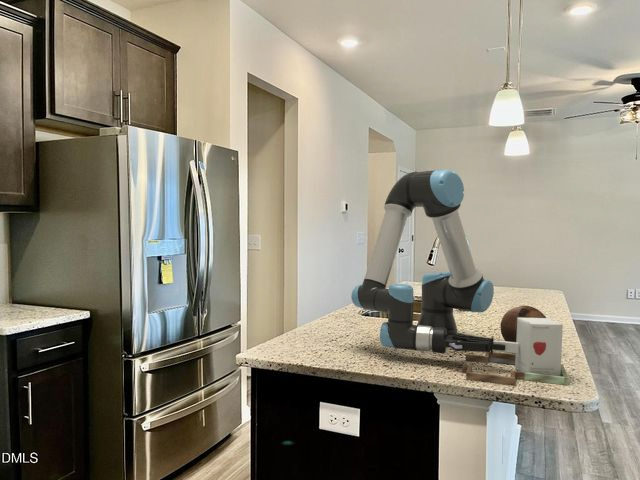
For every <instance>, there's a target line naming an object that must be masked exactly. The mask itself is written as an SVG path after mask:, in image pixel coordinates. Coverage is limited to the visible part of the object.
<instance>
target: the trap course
mask: <svg viewBox="0 0 640 480" xmlns="http://www.w3.org/2000/svg"><path fill="white" fill-rule="evenodd" d="M484 353H485V355H481V354H473V353H472V354H471V353H465V361H466V362H467V361H468V362H476V363H485V364H489V363H492V364H493V363H494V364H499V365H501V364H502V365H510V366H515V359H516V353H509V352H499V351H493V354H491V351H490V352H484ZM461 366H462V367H461V368H462V369H461V371H462V374H463V373H465V374H466V377H465V378H466V380H469V381H476V382H485V383H493V384H501V385H508V386H516V380H521V379H523V380H522V381H529V380H531V381H530V382H537V381H538V382H537V383H548V384H554V385H555V384H556V385H563V386H570V385H569V384H570V383H569V380H570V378H569V375H568V373H567V370H566V369H565V367H564V364H563V363H561V375H560V376H553V375H544V374H535V373H527V372H520V371H518V370H510V376H507V375H506V376H505V375H498V374H490V373H482V372H481V373H480V372H474V371H473V366H472V365H466V364H465V365H464V364H462V365H461Z"/></svg>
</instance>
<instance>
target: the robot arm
mask: <svg viewBox="0 0 640 480" xmlns="http://www.w3.org/2000/svg"><path fill="white" fill-rule="evenodd" d="M459 175H460V174H458V173H457V172H455V171H453V170H450V169H435V170H425V171H412V172H409V173H406V174H404V175H403V176H402V177H400V178H399V179H398V180H397V181H396V183H394V185H393V186H392V188H391V190H390V191H389V193H388V195H387V197H386V200H385V202H384V205H383V208H384V211H385V213H384V216H383V218H382V221H381V225H380V228H379V231H378V233H377V237H376V240H375V244H374V246H373V250H372V254H371V256H370V259H369V262H368V266H367V268H366V271H365V275H364V278H363V282H362V284H358V285H356V286H355V287H354V288H353V289H352V291H351V298H350V299H351V302H352V304H353V305H354V306H355V307H356V308H360V309H363V310H368V311H372V312H373V311H374V312H380V313H382V314H383V313H384V314H387V316H388V317H387V321H385V322H382V323H381V325H380V330H379V341H380V343H381V346H383V347H386V348H392V349H399V350H400V349H401V350H410V351H411V350H412V351H417V352H418V351H420V352H421V354H423V353H425V352H428V353H429V352H433V353H437V354H446V353H447V348H449V349H451V350H454V352H478V353H486V352H491V354H493V352H498V353H508V354H516V353H518V343H516V342H506V341H505V340H494V337H493V336H491V337H484V336H483V337H482V336H476V335H469V334H463V333H458V327H457V323H456V320H455V316H454V309H455V310H460V311H466V312H470V313H471V312H472V313H481V314H482V313H485V312H486V311H487V310H488V309H489V308H490V306H491V305H492V302H493V298H494V293H495V292H494V290H495V288H494V284H493V282H492V281H491V280H489V279H484V277H483V273H482V271H481V270H480V269H479V268H476V266H475V265H476V264H475V261H474V258H473V257H472V252H471V249H470V246H469V243H468V239H467V236H466V233H465V229H464V226H463V224H462V220H461V217H460V214H459V209H460V208H461V206H462V204H461V203H462V202H463V200H464V197H465V193H464V192H465V188H464V187H465V186H464V183H463V181H462V179H461V176H459ZM416 207H417V208H423V210H424V213H425V216H426V217H427V218H429V219H432V222H433V225H434V229H435V231H436V234H437V237H438V240H439V243H440V246H441V247H440V248H441V249H442V252H443V255H444V259H445V262H446V264H447V267H448V271H449V272H446V271H445V272H432V273H431V272H430V273H426V274H423V275H422V279H421V313H420V315H419V318H418V321H417V323H416V324H414V304H415V303H414V302H415V298H414V287H413V286H412V285H410V284H406V283H391V284H390V285H388V281H389V278H390V274H391V271H392V269H393V265H394V261H395V258H396V254H397V253H398V248H399V245H400V242H401V239H402V236H403V233H404V229H405V227H406V223H407V219H408V218H409V217H411V216H412V214H413V210H414V209H415V208H416ZM387 285H388V288H386V287H387Z"/></svg>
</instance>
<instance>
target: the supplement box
mask: <svg viewBox="0 0 640 480" xmlns="http://www.w3.org/2000/svg"><path fill="white" fill-rule="evenodd" d="M563 325H564V324H563V323H560V322H558V321H555V320H553V319H550V318H548V317H546V318H517V338H516V343H518V353H515V354H516V359H515V365H514V369H516V371H518V372H527V373H535V374H544V375H553V376H561V364H562V352H563V351H562V349H563V348H562V347H563V329H564V327H563Z"/></svg>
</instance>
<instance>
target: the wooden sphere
mask: <svg viewBox="0 0 640 480" xmlns="http://www.w3.org/2000/svg"><path fill="white" fill-rule="evenodd" d="M517 318H547V317H546V315H545V314H544V313H543V312H542V311H541V310H539V309H537V308H536V307H534V306H529V305H518V306H514V307H511V308H510V309H509V310H507V311H506V313H505V314H504V315H503V317H502V319H501V321H500V334H501V336H502V338H503V341H506V342H516V338H517Z"/></svg>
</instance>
